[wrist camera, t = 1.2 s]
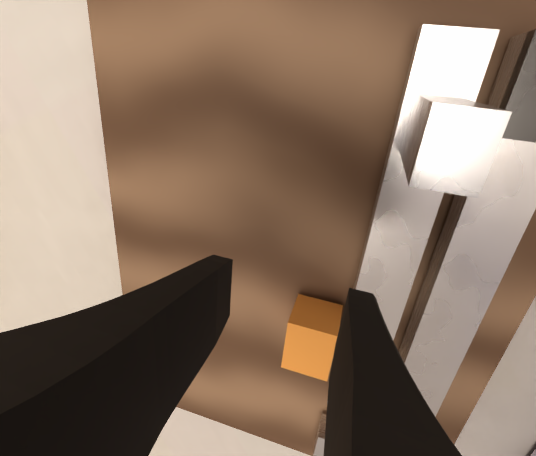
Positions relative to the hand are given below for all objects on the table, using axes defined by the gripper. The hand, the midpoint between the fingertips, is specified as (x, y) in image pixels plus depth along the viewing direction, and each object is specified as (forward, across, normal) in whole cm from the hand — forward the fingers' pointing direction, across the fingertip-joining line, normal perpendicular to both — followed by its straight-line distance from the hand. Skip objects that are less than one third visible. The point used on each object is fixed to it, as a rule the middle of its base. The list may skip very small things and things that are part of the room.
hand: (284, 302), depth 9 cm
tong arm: (+7, -3, +1) cm, 8 cm away
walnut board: (+8, +1, +5) cm, 10 cm away
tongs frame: (+7, -5, +4) cm, 10 cm away
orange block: (+7, -1, +6) cm, 10 cm away
